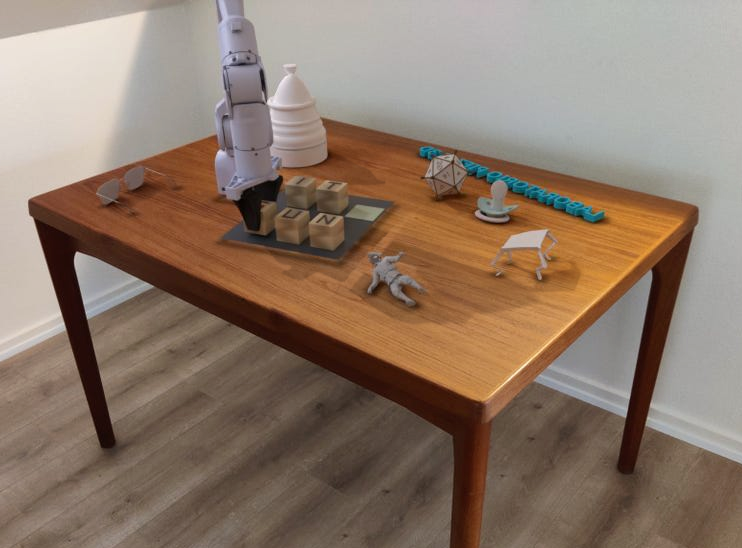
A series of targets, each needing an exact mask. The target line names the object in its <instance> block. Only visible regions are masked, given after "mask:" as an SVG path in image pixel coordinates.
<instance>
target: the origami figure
mask: <svg viewBox="0 0 742 548" xmlns="http://www.w3.org/2000/svg"><path fill="white" fill-rule="evenodd" d="M546 237H547V238H548V239H549V240H551V241H552V242H553V243H551V244H550V245H549V247H548V248H547V249H546V250H545V251H544V253H543V251H542V245H543V243H544V241H545V239H546ZM558 243H559V240H557V238H556V237H555V236H554V235H553V234H552V233H551V229H538V230H537V229H536V230H528V231H525V232H520V233H517V234H512V235H510V237H509V239H507V241H506V242H505V243H504V245H502V247H500V248H499V252H498V253H497V254H496V256H495V257H494V258H493V259H492V261H491V262H490V263H489V266H491V267H493V268H495V269H497V270H499V272H498V273H496V274H495V276H497V277H498V276H499V275H500V274H502V273H503V272H504V269H502V268H501V267H499V266H497V265H495V263H496V262H497V261H498V260H499V259H500V258H501V257H502V255H504V253H505V252H506V255H507V257H508V259H509V261H508V262H507V263H506V265H510V264H511V263H512V261H513V256H512V253H511V252H518V251H537V253H538V256H539V259H540V261H541V265H540V266H538V267H536V269H535V273H536V275H537V278H538V280H540V281H541V280H542V279H543V276H542V274H541V272H540V271H541V270H546V269H547V268H548V263H547V261H551V260H552V258H551V257H550V256H549V255H548V254H547V253H548V252H549V251H551V249H553V248H554V247H555V246H556V245H557V244H558ZM545 258H546V259H547V260H546V259H545Z"/></svg>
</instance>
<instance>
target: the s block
mask: <svg viewBox="0 0 742 548" xmlns="http://www.w3.org/2000/svg"><path fill="white" fill-rule="evenodd" d="M260 215H261V225H260V230H259V231H252V230H248V229H247V227H246V224H245V222H244V219H243V217H242V216H241V217H242V221H243V225H244V232H249V233H255V234H260V235H267V234H268V233H270V232H271V231H272V230H273V229H274V228H276V226H275V217H276V216H277V209H276V202H271V201H265V200H262V203H261V211H260Z"/></svg>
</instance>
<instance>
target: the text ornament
mask: <svg viewBox="0 0 742 548" xmlns="http://www.w3.org/2000/svg"><path fill="white" fill-rule="evenodd" d="M442 152H443V151H442V150H441V149H436V148H435V147H433V146H422V147H420V148H419V156H421V157H424V158H426V157H427V159H428V160H430V161H431V160H432V157H431V156H430V153H431V154H433V156H434V157H435V156H442V155H443V153H442ZM449 154H450V153H448V152H446V153H445V155H449ZM459 160H460V161H461V162H462V164H463V165H464V166H465V168H466V169H467V170H468V171H469V170H470V171H473V172H472V173H468V175H470V176H472V174H475V173H476V178H478V179H479V178H483V177H485V176H486V182H488V183H491V184H493V183H494V182H495V181H498V180H501V181H503V182H505V183H506V185H507V190H510V189H512V192H514V193H516V194H524V195H523V196H524V197H528V196H529V199H537V202H540V203H541V204H543V203H546V205H547V206H549V205H552V204H553V207H554V209H557V210H565V212H566V213H567V214H570V215H574V216H575V217H577V216H582V217H583V219H584V220H585V221H589V222H591V223H595V222H597V221H599V220H601V219H604V218H605V213H606V211H604V210H601V211H599V212H596V213H595V214H592V211H593V206H589V205H588V206H585V203H583V202H581V201H578V200H577V201H576V200H575V201H572V200H571V198H569V197H567V196H560V194H559V193H556V192H547V191H548V189H546V188H545V189H544V188H543V189H542V188H541V187H540V186H537V185H535V184H530V187H529V182H527V181H522V180H521V181H520V179H518V178H516V177H511V176H510V175H507V174H505V175H504V176H503V173H502V172H500V171H491V172H490V168H489V167H486V166H482V165H481V164H476V162H473V161H470V160H467V159H464V158H461V159H459Z"/></svg>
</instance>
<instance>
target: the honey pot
mask: <svg viewBox="0 0 742 548" xmlns="http://www.w3.org/2000/svg"><path fill="white" fill-rule="evenodd" d="M282 68H283V71H284V72H285V74H286V75H285V76H284V77H283V78H282V79H281V81H280V83H279V85H278V86H277V89H276V91H275V93H274V95H272V96H270V97H269V98H268V99H267V105H268V106H269V108H270V110H269V112H270V116H271V121H272V128H273V139H274V142H273V144H272V146H271V147H270V153H271V156H277V157H282V167H283V168H303V167H310V166H315V165H318V164H320V163H322V162H324V161H325V160H326V159H327V158H328V141H327V140H328V139H327V130H326V127H325V126H324V125H323V120H322V119H321V114H320V112H319V111H318V109H317V106H316V103H317V98H316V96H314V95H313V94H311V93H310V91H309V89H308V88H307V86H306V85H305V84H304V82H303V81H302V79H301V78H300V77H298V76H297V75H295V73H296V72H297V64H296V63H286V64H283V67H282Z"/></svg>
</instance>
